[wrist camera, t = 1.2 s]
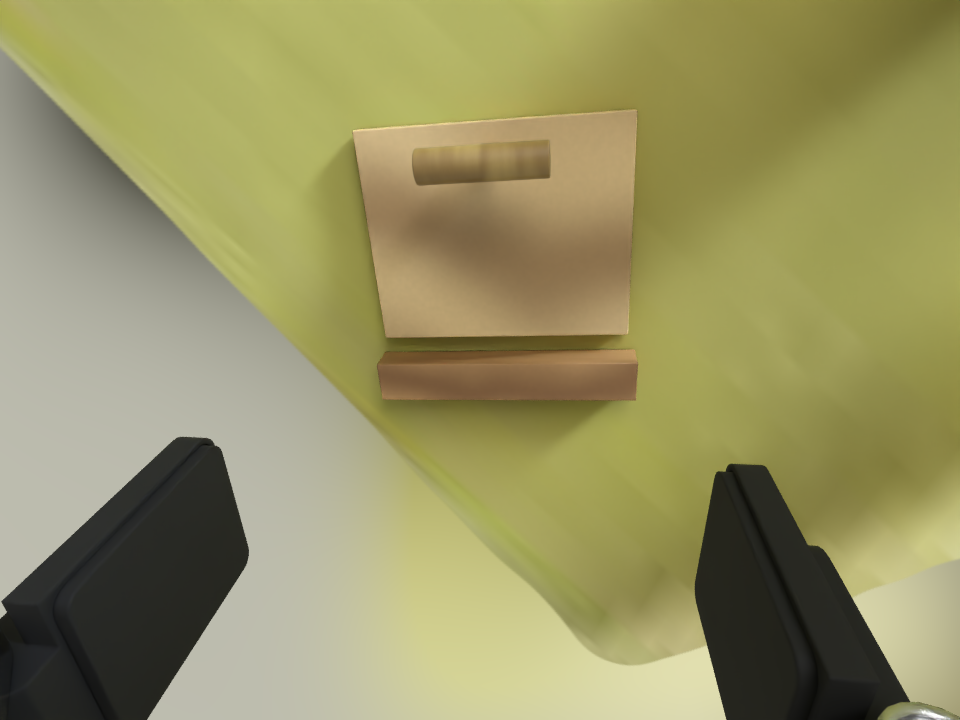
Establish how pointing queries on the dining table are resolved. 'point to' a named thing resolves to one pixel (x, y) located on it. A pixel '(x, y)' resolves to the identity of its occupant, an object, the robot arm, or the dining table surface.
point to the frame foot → (509, 375)
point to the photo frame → (502, 224)
